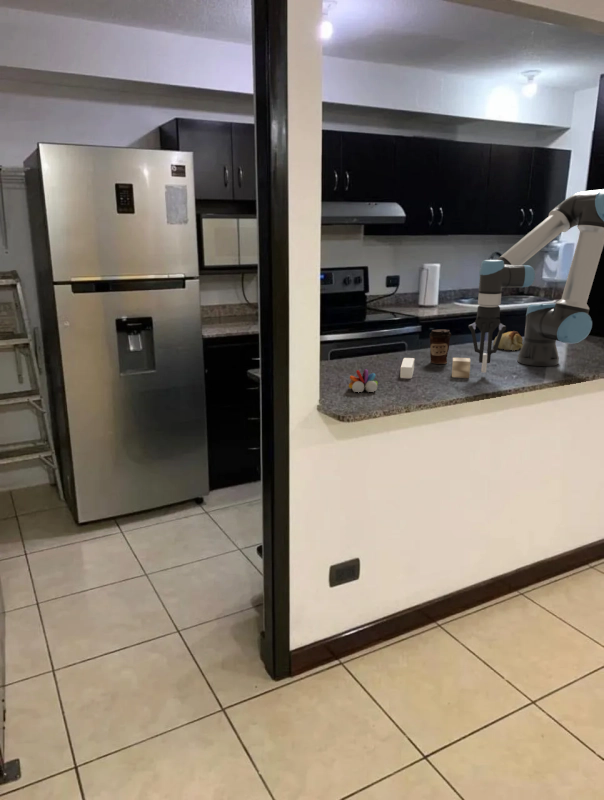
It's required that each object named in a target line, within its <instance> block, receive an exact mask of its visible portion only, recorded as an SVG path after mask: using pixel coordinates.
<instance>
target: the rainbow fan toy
mask: <svg viewBox="0 0 604 800" xmlns="http://www.w3.org/2000/svg"><path fill="white" fill-rule="evenodd" d="M355 373H356V375H357V376H354V375H350V376H349V379H350V381H349V383H348V388H349V389H352V391H353V392H354V393H355V392H358V393H357V394H360V393H359V392H361V393H363V392H364V390H365V391H366V392H367V393H369V392H373V393H375V392H376V391H377V389H378V385H379V382H378V380H374V379H376V373H374V372H372V373H370V374H369V369H367V368H366V369H363V372H362V374H361V372H360V370H359V369H357V370H356V371H355ZM374 391H375V392H374Z"/></svg>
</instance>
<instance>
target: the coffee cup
mask: <svg viewBox="0 0 604 800" xmlns="http://www.w3.org/2000/svg"><path fill="white" fill-rule="evenodd" d="M451 337H452V333H451V332H450V329H442V328H441V329H432V330H431V332H430V333H429V347H430V348H429V349H430V351H429V356H430V363H431V364H437V365H442V364H445V365H446V364H447V363H448V353H449V349H450V340H451Z"/></svg>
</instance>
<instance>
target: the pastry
mask: <svg viewBox="0 0 604 800" xmlns="http://www.w3.org/2000/svg"><path fill="white" fill-rule="evenodd" d="M496 338H497V336H495V338H494V340H493V343H492V347H494V344H495V341H496ZM523 342H524V340H523V337H522V336H521V335H520V333H519V332H518V331H515V330H513V331H511V330H510V331H507V332H503V334H502V337H501V340H500V343H499V346H498V349H499V350H501V349H504V350H503V351H508V350H512V351H511V352H516V351H515V350H517V351H520V350H521V348H522V345H523ZM498 349H497V350H498ZM513 350H514V351H513Z"/></svg>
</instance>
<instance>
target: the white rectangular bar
mask: <svg viewBox="0 0 604 800" xmlns="http://www.w3.org/2000/svg"><path fill="white" fill-rule="evenodd" d="M415 360H416V359H415V358H413V357H403V359H402V362H401V366H400V374H399V376H400V377H399V378H400V379H412V378H413V375H414V371H415Z"/></svg>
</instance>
